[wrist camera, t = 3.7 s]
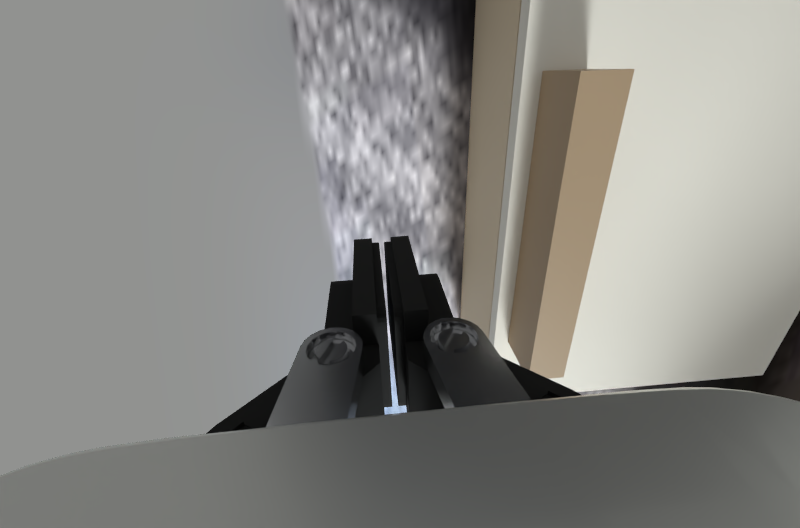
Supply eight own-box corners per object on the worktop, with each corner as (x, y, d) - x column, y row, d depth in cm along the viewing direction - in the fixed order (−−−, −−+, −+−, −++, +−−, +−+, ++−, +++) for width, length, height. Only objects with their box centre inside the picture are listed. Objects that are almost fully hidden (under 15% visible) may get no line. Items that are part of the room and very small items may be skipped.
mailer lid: (989, -81, 13) (1185, -128, 10) (750, 365, 22) (810, 412, 19) (528, -71, 12) (584, -121, 9) (484, 389, 21) (503, 442, 18)
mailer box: (802, -36, 18) (985, -80, 13) (674, 306, 27) (748, 364, 22) (477, -27, 17) (527, -70, 12) (459, 323, 26) (483, 387, 21)
